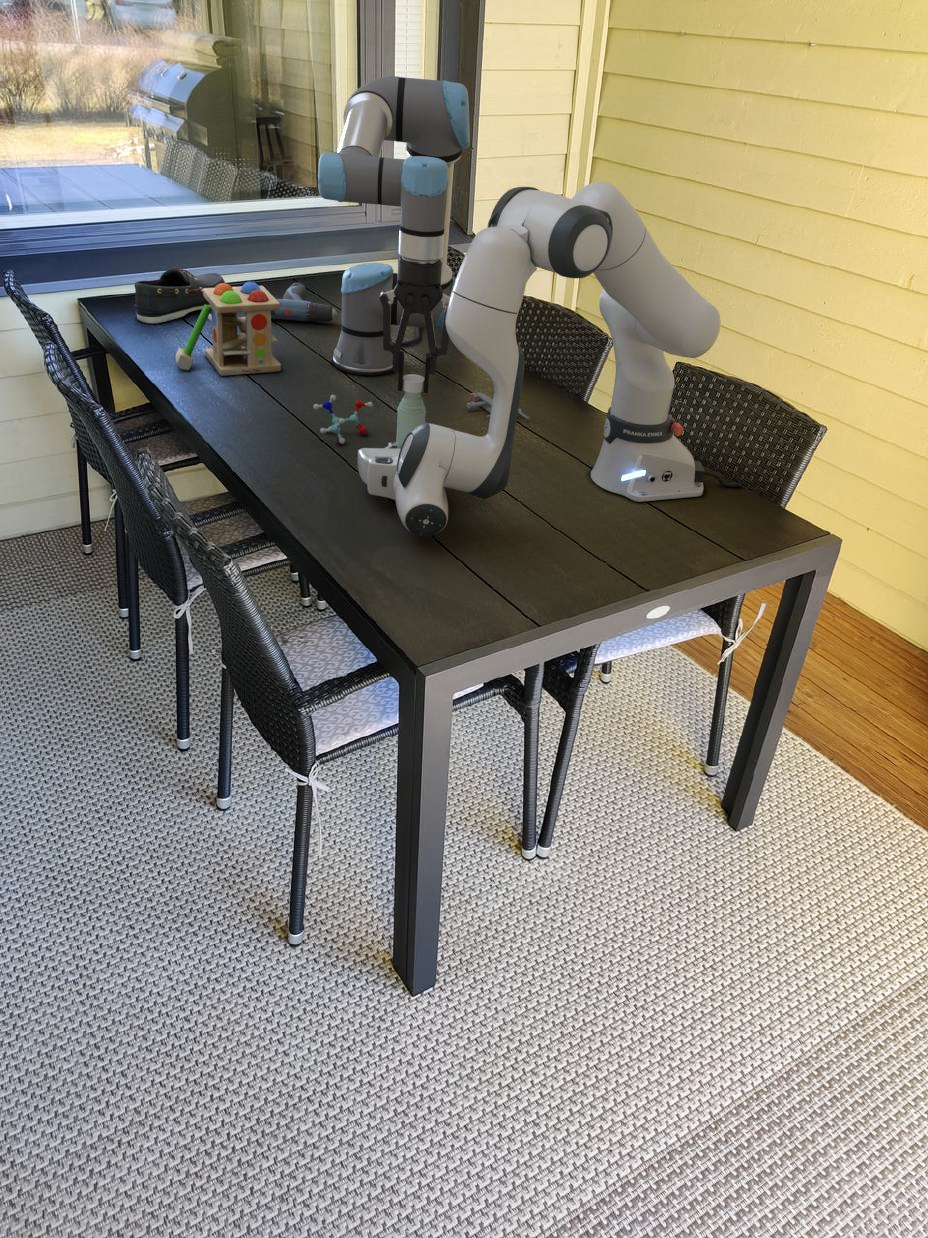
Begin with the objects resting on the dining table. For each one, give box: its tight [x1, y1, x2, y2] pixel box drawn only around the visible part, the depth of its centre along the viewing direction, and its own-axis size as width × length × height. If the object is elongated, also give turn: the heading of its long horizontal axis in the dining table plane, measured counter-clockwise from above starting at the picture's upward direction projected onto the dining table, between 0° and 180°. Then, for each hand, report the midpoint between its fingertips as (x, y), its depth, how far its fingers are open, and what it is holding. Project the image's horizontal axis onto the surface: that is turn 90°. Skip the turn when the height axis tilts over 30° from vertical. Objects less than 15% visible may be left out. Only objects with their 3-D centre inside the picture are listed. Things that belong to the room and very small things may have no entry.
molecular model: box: [312, 394, 374, 445], centre depth 201 cm, size 12×10×10 cm
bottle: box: [395, 391, 427, 449], centre depth 184 cm, size 5×5×19 cm
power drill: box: [271, 282, 338, 322], centre depth 265 cm, size 5×19×20 cm
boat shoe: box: [133, 267, 226, 324], centre depth 260 cm, size 13×33×10 cm, turn 147°
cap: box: [402, 373, 425, 393], centre depth 179 cm, size 4×4×2 cm
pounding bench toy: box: [174, 281, 282, 377], centre depth 225 cm, size 23×14×18 cm, turn 116°
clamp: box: [466, 391, 531, 421], centre depth 219 cm, size 15×2×10 cm
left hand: (413, 388), depth 180 cm, fingers closed on cap, 4 cm apart
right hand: (408, 446), depth 187 cm, fingers closed on bottle, 5 cm apart
